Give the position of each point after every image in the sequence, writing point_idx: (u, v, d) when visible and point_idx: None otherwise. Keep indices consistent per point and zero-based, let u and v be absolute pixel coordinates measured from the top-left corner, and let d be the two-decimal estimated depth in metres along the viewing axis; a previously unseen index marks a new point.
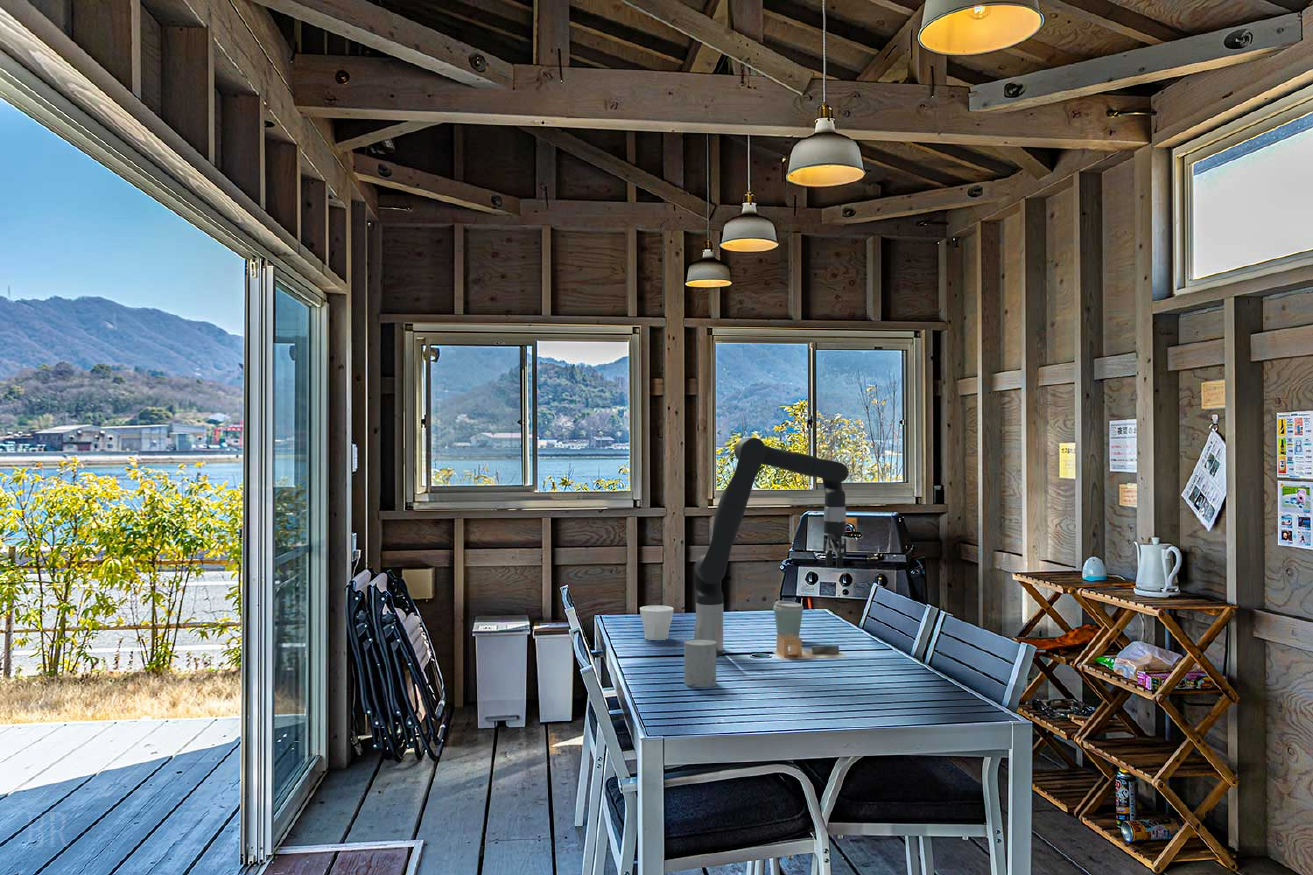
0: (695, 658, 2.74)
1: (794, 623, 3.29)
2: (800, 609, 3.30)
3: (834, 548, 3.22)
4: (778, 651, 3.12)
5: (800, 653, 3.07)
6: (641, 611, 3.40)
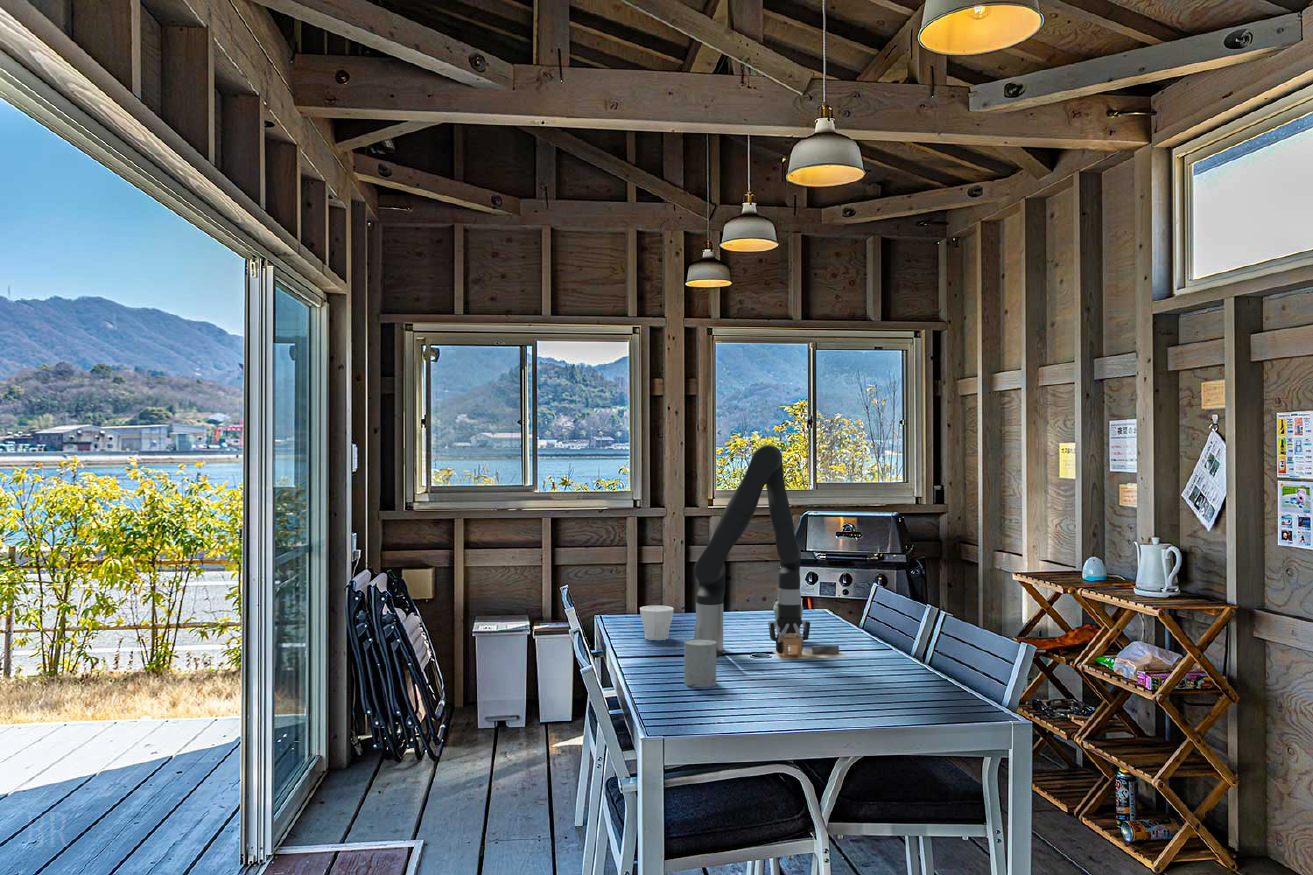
0: (695, 658, 2.74)
1: None
2: None
3: None
4: None
5: (800, 653, 3.07)
6: (641, 611, 3.40)
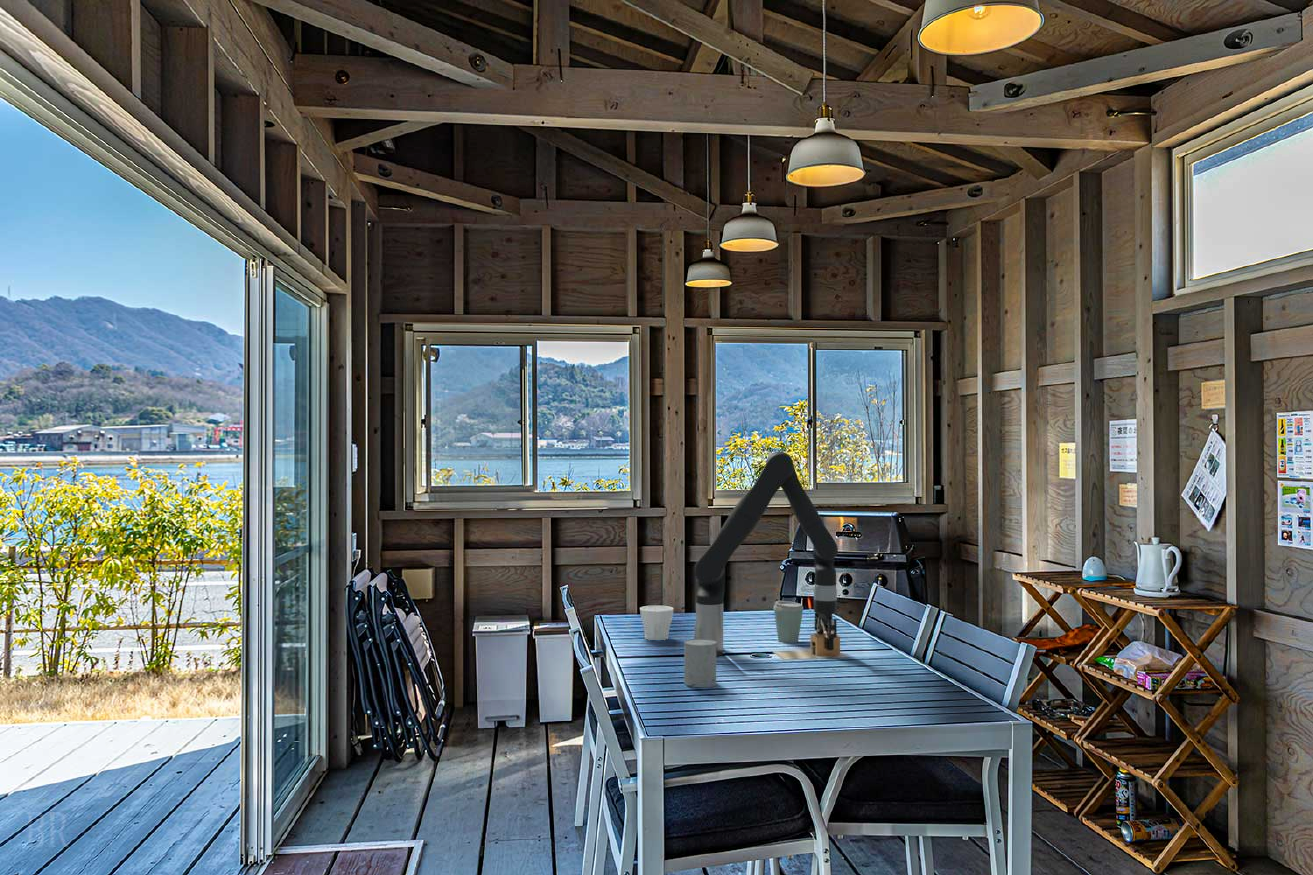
0: (695, 658, 2.74)
1: (794, 623, 3.29)
2: (800, 609, 3.30)
3: None
4: (822, 653, 3.09)
5: None
6: (641, 611, 3.40)
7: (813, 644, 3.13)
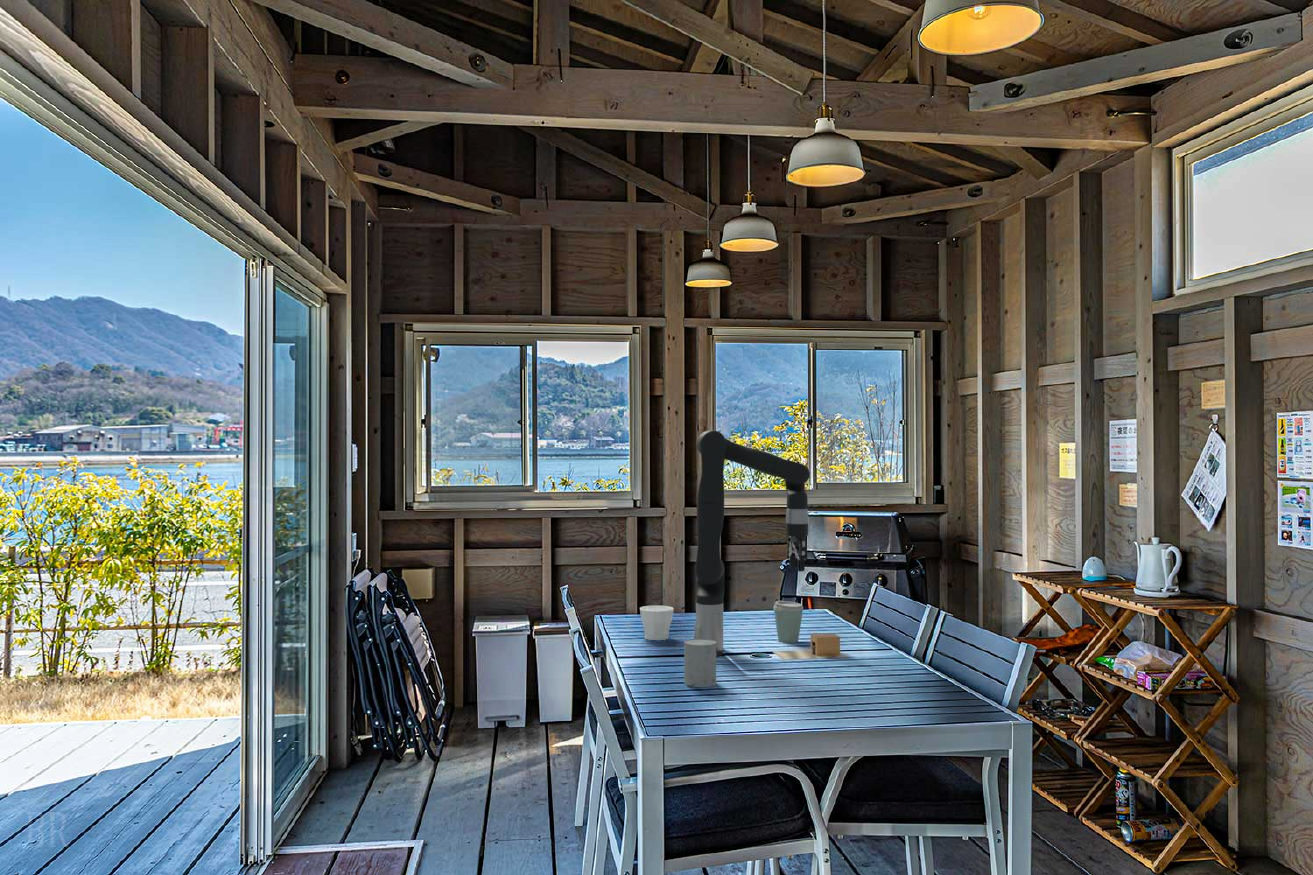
0: (695, 658, 2.74)
1: (794, 623, 3.29)
2: (800, 609, 3.30)
3: None
4: (822, 653, 3.09)
5: None
6: (641, 611, 3.40)
7: (813, 644, 3.13)
